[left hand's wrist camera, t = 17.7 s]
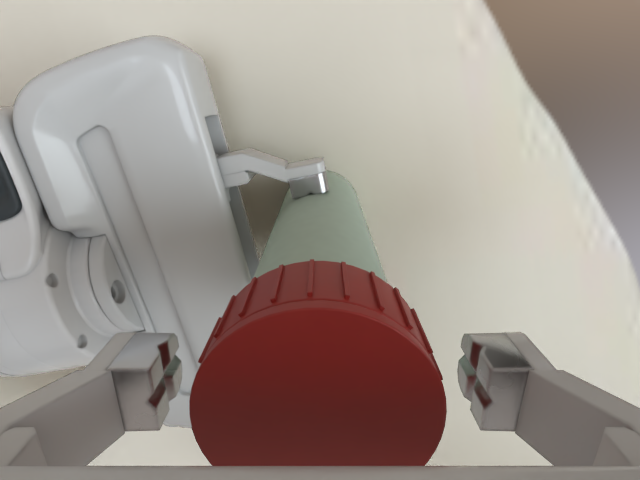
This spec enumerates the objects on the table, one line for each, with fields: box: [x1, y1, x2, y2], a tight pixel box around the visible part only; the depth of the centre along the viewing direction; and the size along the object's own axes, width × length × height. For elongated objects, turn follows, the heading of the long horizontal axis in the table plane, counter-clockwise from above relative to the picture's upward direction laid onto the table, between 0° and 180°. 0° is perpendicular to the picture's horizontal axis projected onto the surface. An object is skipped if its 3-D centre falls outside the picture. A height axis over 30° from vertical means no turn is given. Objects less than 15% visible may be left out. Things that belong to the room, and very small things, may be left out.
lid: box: [189, 259, 447, 466], centre depth 9 cm, size 6×6×2 cm
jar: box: [254, 171, 387, 283], centre depth 17 cm, size 5×5×17 cm
